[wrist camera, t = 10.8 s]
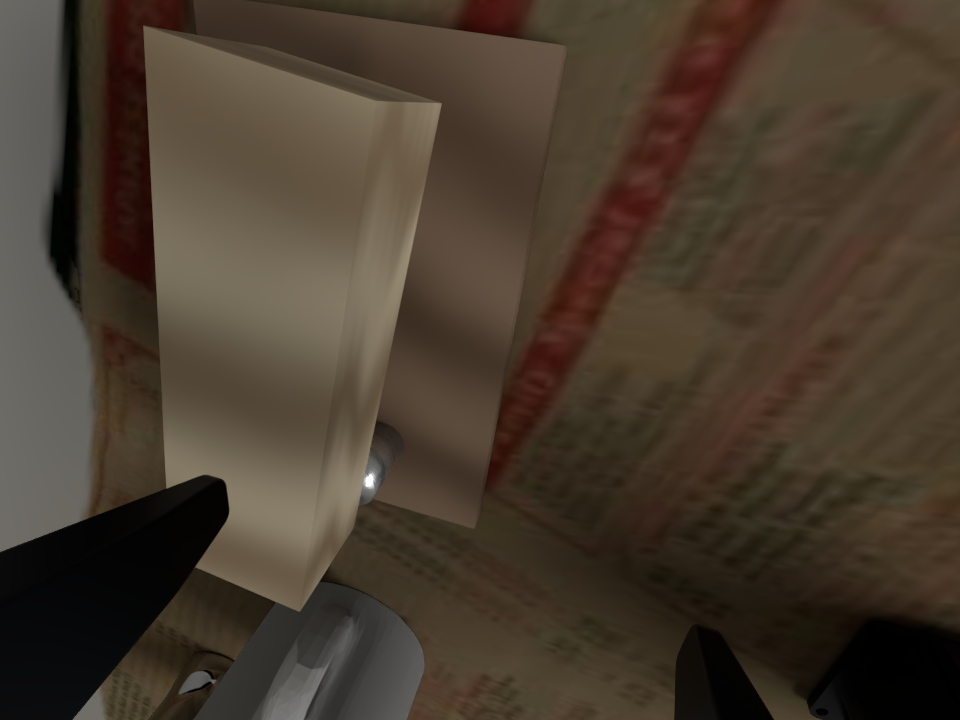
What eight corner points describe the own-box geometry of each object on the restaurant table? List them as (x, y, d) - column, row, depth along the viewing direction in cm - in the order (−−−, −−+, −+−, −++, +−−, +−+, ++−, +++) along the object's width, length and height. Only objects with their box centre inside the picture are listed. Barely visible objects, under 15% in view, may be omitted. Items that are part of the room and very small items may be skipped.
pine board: (353, 527, 21) (299, 612, 17) (243, 482, 21) (169, 556, 18) (442, 103, 13) (376, 101, 10) (266, 47, 14) (143, 25, 10)
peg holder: (479, 514, 24) (456, 582, 21) (253, 448, 26) (196, 500, 23) (567, 49, 15) (551, 31, 12) (214, -2, 17) (110, -30, 14)
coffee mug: (390, 714, 34) (309, 925, 25) (259, 640, 34) (133, 824, 25) (477, 610, 27) (409, 846, 19) (315, 517, 27) (170, 710, 19)
